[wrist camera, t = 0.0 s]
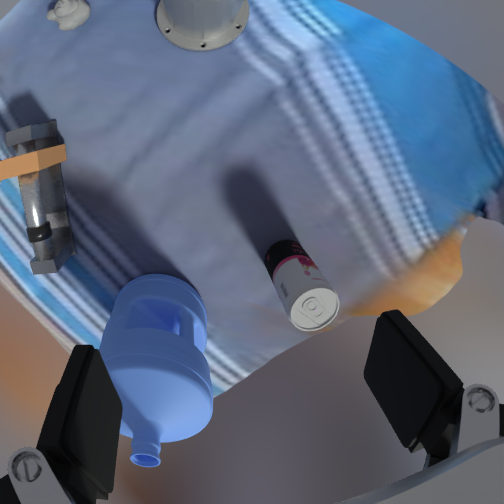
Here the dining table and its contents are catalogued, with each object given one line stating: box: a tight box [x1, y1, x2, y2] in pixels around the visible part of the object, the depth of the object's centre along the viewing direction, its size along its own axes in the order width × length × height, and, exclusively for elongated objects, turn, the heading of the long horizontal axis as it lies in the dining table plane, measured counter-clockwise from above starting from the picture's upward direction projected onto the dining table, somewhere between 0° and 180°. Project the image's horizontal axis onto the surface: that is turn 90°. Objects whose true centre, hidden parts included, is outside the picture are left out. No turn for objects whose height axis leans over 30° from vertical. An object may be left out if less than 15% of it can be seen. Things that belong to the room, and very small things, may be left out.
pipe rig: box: [5, 120, 77, 275], centre depth 36 cm, size 21×6×7 cm, turn 2°
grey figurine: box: [47, 0, 91, 31], centre depth 26 cm, size 5×7×8 cm
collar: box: [0, 144, 67, 180], centre depth 32 cm, size 2×9×9 cm, turn 92°
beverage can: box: [265, 240, 339, 331], centre depth 43 cm, size 6×6×15 cm
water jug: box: [99, 274, 213, 467], centre depth 38 cm, size 16×16×28 cm
